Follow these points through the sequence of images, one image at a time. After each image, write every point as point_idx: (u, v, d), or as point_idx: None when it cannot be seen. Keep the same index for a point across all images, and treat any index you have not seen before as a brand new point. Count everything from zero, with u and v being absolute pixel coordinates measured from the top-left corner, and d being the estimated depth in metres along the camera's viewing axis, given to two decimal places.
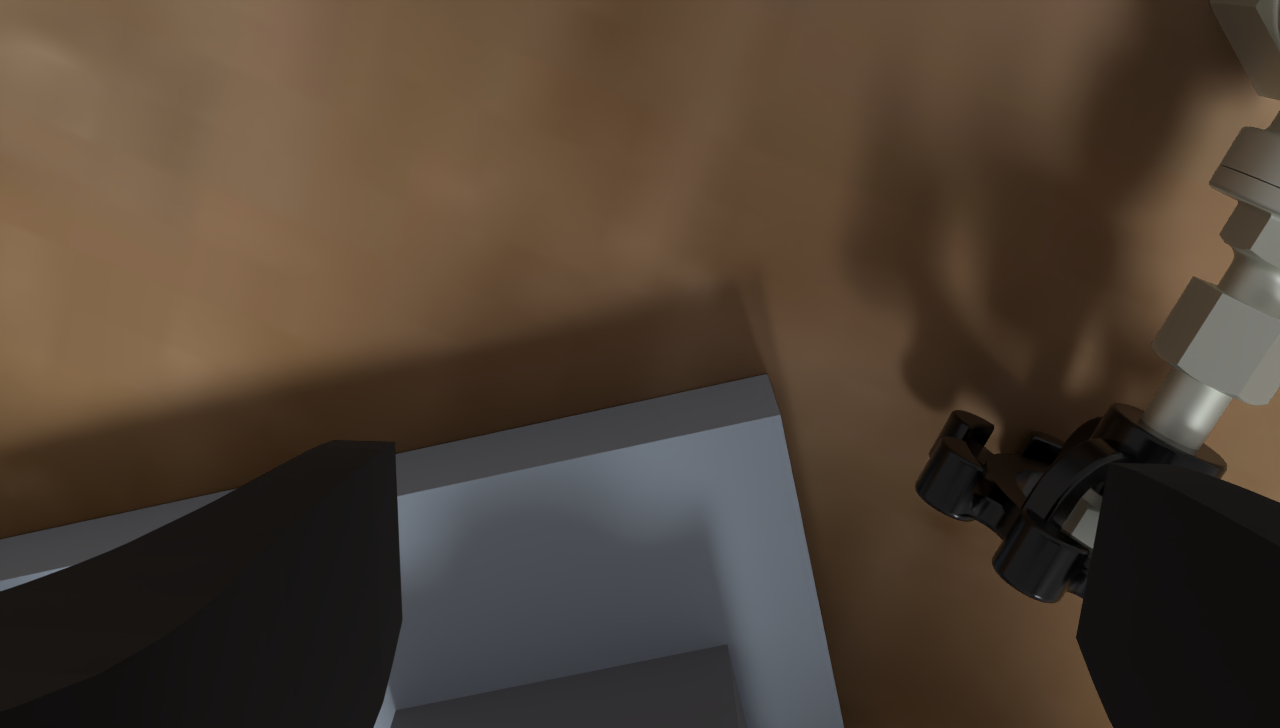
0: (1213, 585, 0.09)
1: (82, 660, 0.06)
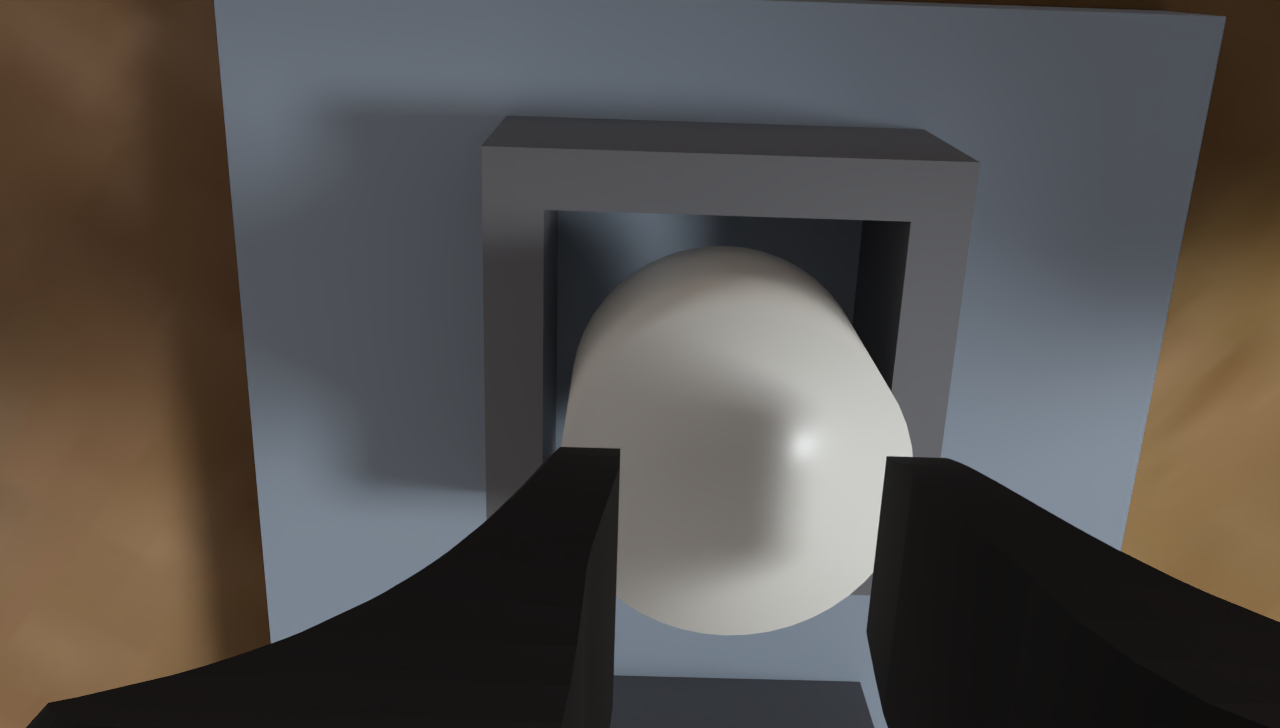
0: (947, 578, 0.09)
1: (536, 672, 0.06)
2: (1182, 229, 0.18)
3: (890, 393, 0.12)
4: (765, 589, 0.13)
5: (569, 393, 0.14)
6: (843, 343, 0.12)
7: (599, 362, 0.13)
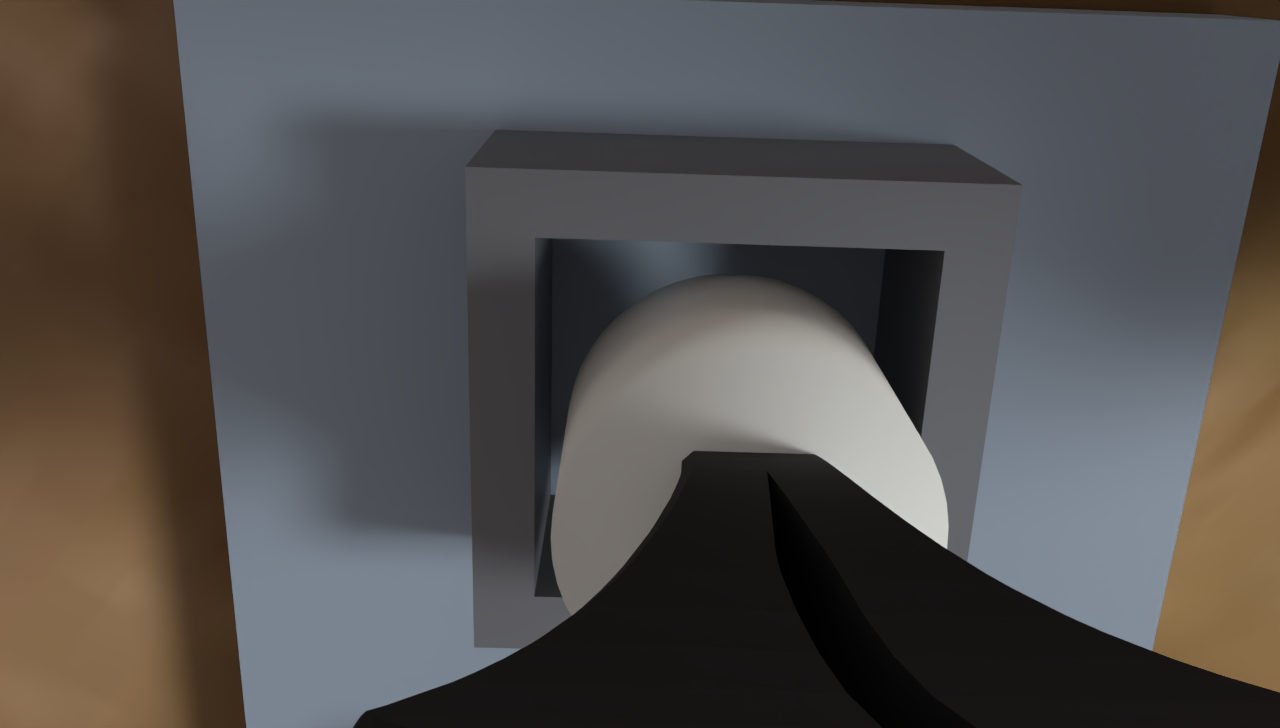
0: (787, 574, 0.09)
1: (802, 678, 0.06)
2: (1235, 253, 0.16)
3: (923, 445, 0.11)
4: None
5: (564, 437, 0.13)
6: (871, 390, 0.11)
7: (596, 409, 0.11)
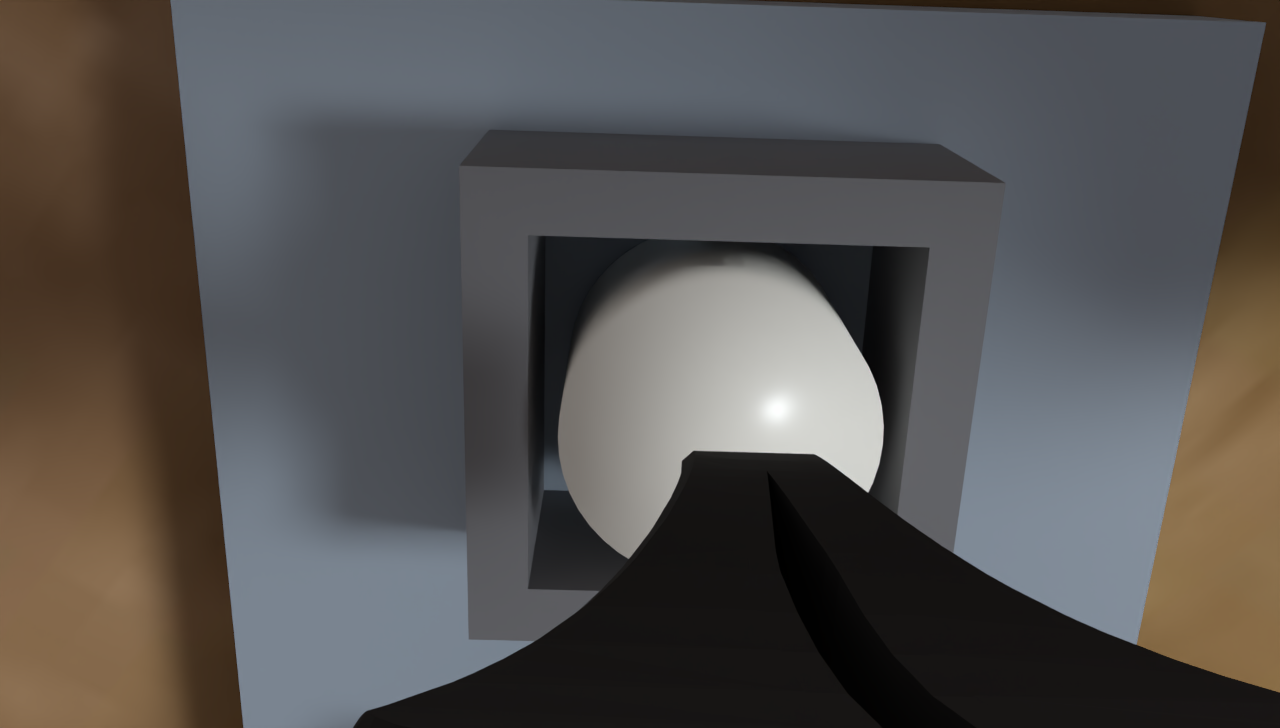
0: (787, 574, 0.09)
1: (802, 678, 0.06)
2: (1216, 250, 0.17)
3: (861, 357, 0.14)
4: None
5: None
6: (818, 311, 0.13)
7: (595, 330, 0.14)
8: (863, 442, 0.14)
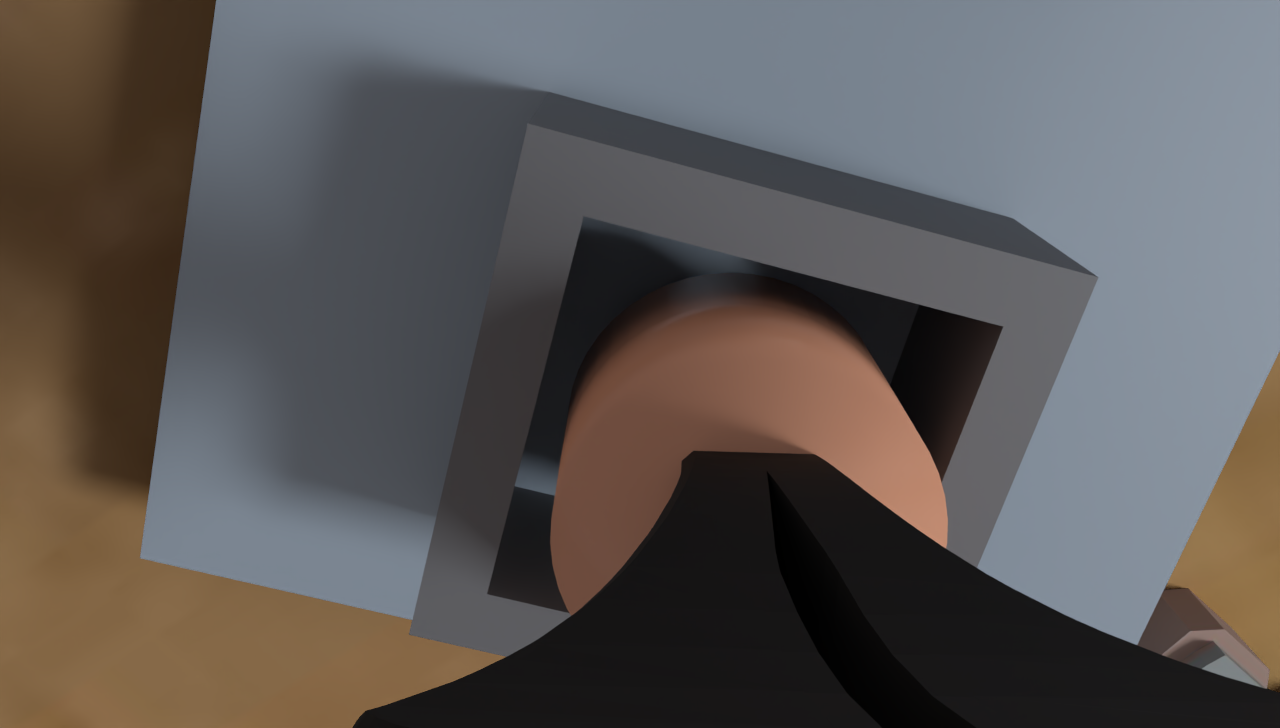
0: (787, 574, 0.09)
1: (801, 678, 0.06)
2: None
3: None
4: None
5: None
6: None
7: None
8: None
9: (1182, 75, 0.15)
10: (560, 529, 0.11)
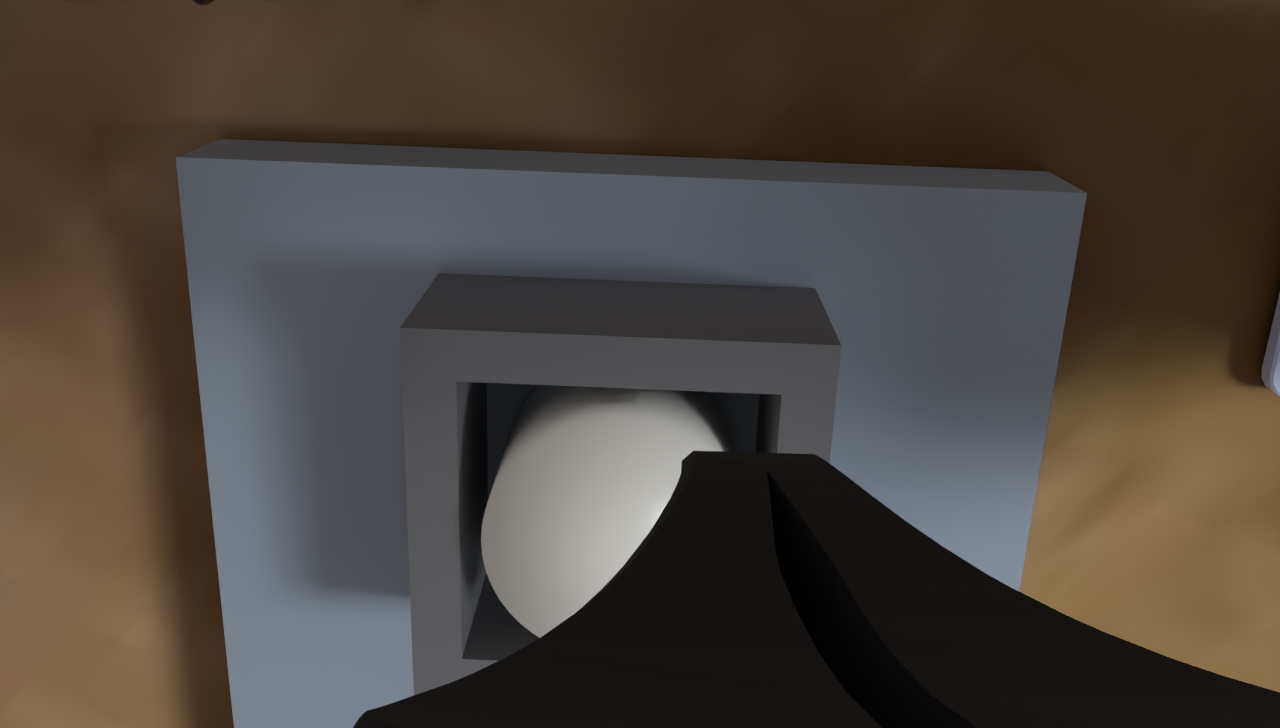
0: (787, 574, 0.09)
1: (801, 678, 0.06)
2: (1054, 377, 0.20)
3: None
4: None
5: None
6: (689, 446, 0.17)
7: (512, 455, 0.17)
8: None
9: None
10: None
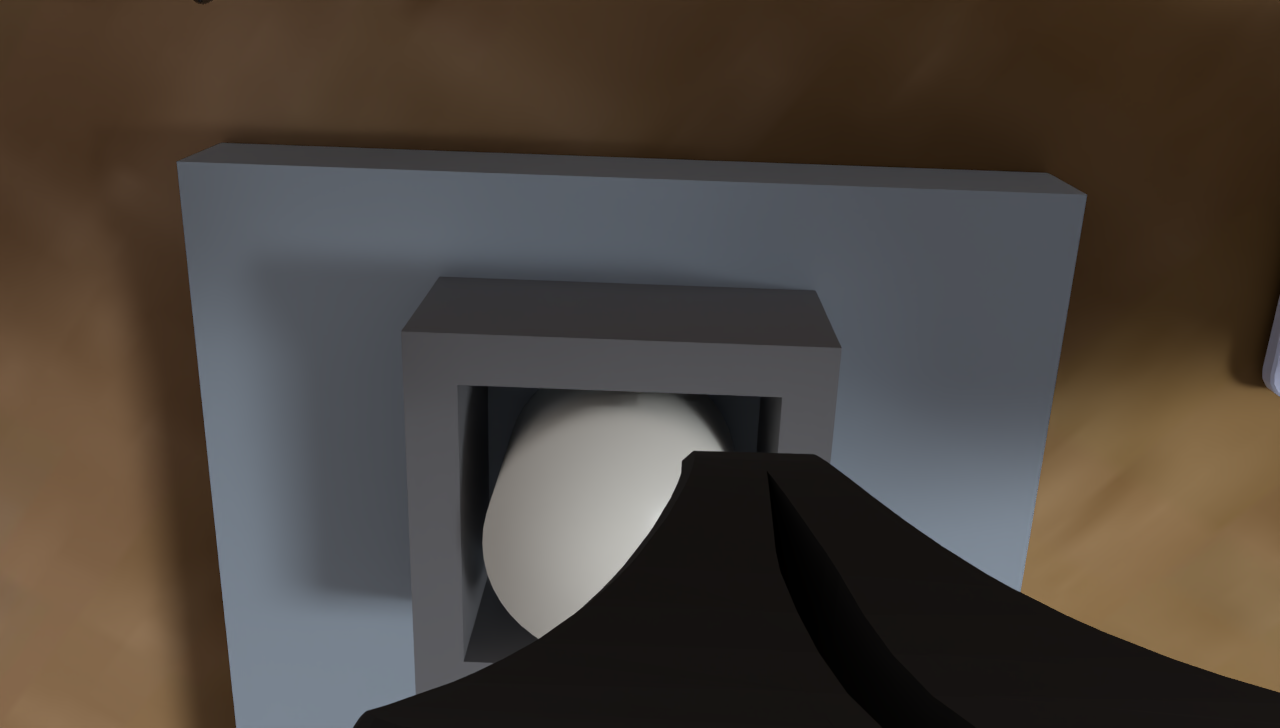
0: (787, 574, 0.09)
1: (802, 679, 0.06)
2: (1055, 378, 0.20)
3: None
4: None
5: None
6: (689, 449, 0.17)
7: (513, 459, 0.17)
8: None
9: None
10: None
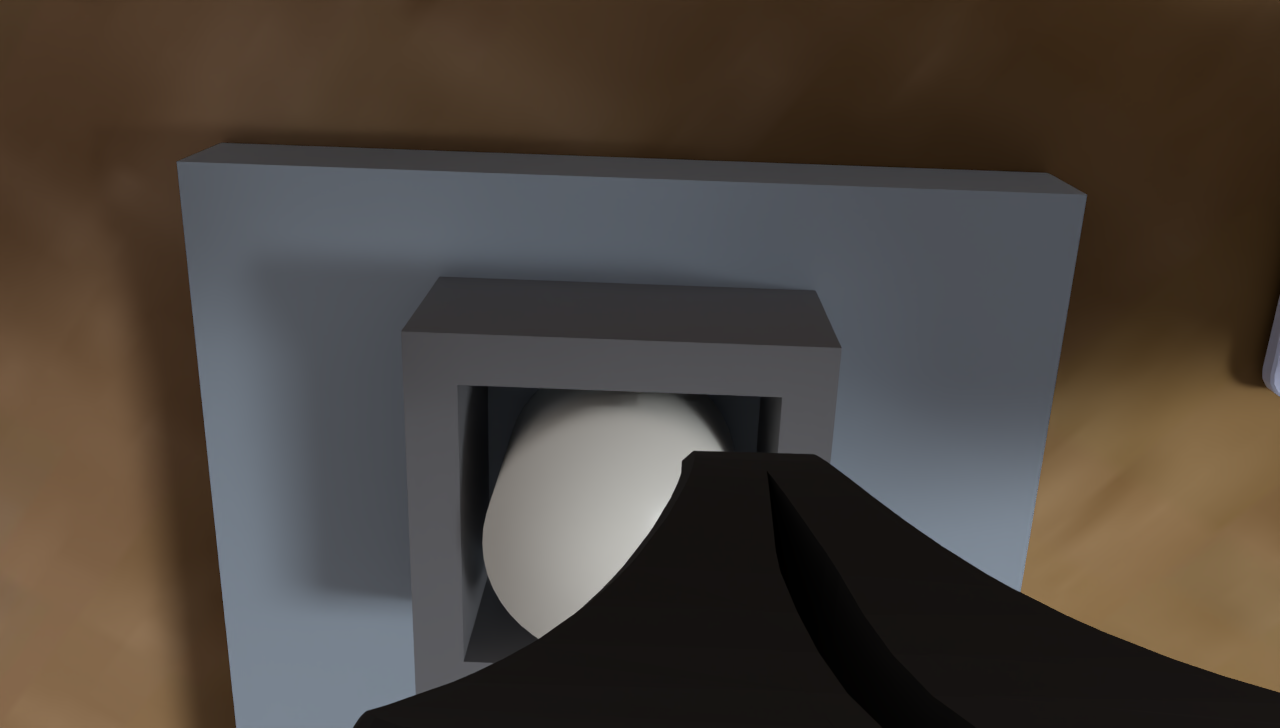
0: (787, 574, 0.09)
1: (802, 679, 0.06)
2: (1055, 378, 0.20)
3: None
4: None
5: None
6: (689, 449, 0.17)
7: (513, 459, 0.17)
8: None
9: None
10: None
